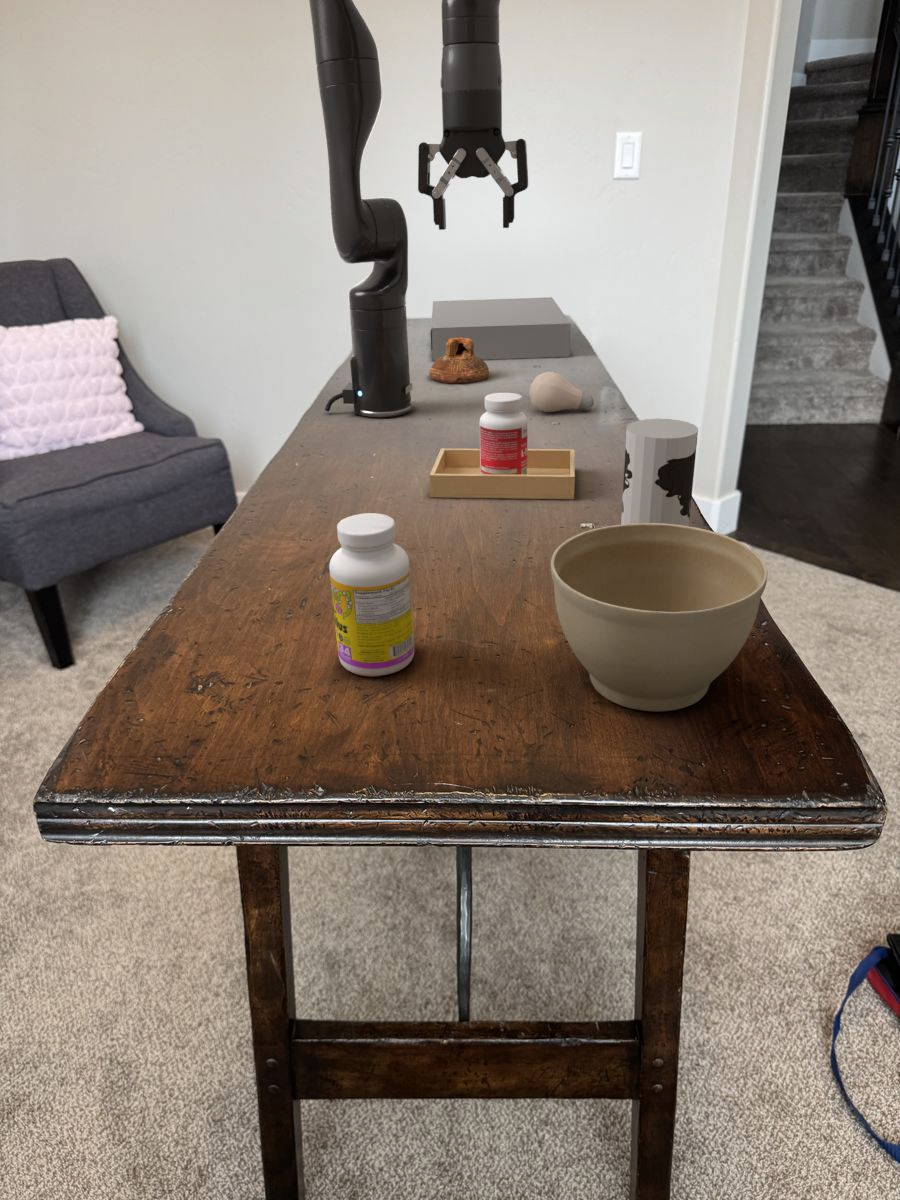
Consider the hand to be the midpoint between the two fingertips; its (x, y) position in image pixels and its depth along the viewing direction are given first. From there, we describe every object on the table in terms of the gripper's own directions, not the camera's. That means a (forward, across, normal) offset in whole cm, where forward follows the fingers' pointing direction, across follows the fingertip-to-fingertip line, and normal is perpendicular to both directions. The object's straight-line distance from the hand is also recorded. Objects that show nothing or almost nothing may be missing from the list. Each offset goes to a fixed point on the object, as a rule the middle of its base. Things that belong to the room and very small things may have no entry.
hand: (474, 228), depth 118 cm
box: (+30, +3, -78) cm, 84 cm away
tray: (+30, -5, +16) cm, 34 cm away
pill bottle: (+30, -5, +16) cm, 34 cm away
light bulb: (+30, -12, -20) cm, 38 cm away
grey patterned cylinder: (+30, -22, +42) cm, 56 cm away
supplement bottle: (+30, +3, +62) cm, 69 cm away
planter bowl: (+30, -20, +64) cm, 74 cm away
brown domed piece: (+30, +8, -45) cm, 55 cm away
